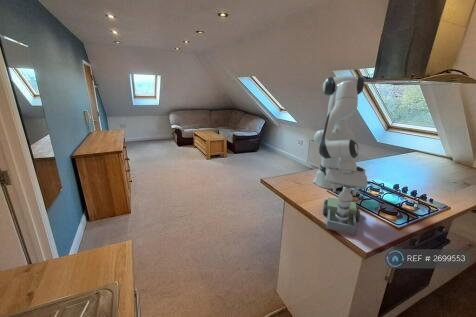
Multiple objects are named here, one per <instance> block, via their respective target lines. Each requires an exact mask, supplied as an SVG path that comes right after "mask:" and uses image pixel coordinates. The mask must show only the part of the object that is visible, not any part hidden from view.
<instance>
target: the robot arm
mask: <svg viewBox="0 0 476 317" xmlns="http://www.w3.org/2000/svg"><path fill="white" fill-rule="evenodd" d="M364 88H365V80H364V78H363V76H358V75H357V76H354V75H352V76H351V75H343V76H342V75H341V76H330V77H326V78H325V80H324V82H323V84H322V91H323V94H324V95H325V96H329V99H328V100H329V101H328V105H327V106H328V107H327V115H326V120H325V124H324V128H323V129H320V130H317V131H316V132H315V133H314V135H313V142H314V143H315V145H316V146H317V147H318V153H319V154H320V156H321V163H320V165H319V170H317V171H316V176H315V178H314V179H313V180H312V183H313V184H315V185H317V186H318V187H319V188H323V189H329V190H331V189H332V193H336V191H337V189H338V188H342V187H343V186H345V185H347V186H350V187H351V188H353V189H355V191H352V193H351V194H352V196H355V197H357V196H356V195H357V192H358V191H359V190H360V189H361V190H365V189H367V187H368V176H367V175H366V169H365V168H363V167H361V166H358V165H357V162H356V161H357V160H358V155H359V145H358V143H357V142H356V141H355V140H356V137H355V136H356V135H355V133H354V132H353V131H352V130H351V129H350V128H349V126H348V124H347V122H348V121H347V119H348V118H350V117H351V116H353V115H354V114H355V113H356V111H357V109H358V103H359V101H358V100H359V95H360V94H361V93H362V92H363V90H364Z"/></svg>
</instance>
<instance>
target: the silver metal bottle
mask: <svg viewBox="0 0 476 317" xmlns="http://www.w3.org/2000/svg"><path fill="white" fill-rule="evenodd" d="M351 192H352V187H350V186H347V185H345V186H342V191H340V192H339V194H338V196H337V199H338V208H337V211H336V214H335V216H334V220H335V222H339V223H343V224H347V223H348V219H349V217H348V214H349V208H350V205H351V202H353V198H354V197H353V195H352V193H351Z"/></svg>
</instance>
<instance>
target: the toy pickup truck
mask: <svg viewBox="0 0 476 317" xmlns="http://www.w3.org/2000/svg"><path fill="white" fill-rule="evenodd" d="M337 208H338V198H335V197H327V199H324V202H323V210H322V214H323V215H327V216H326V219H327V220H326V229H327V230H330V231H335V232H338V233H343V234H348V235H352V236H356V235H357V234H356V232H357V229H358V226H357V221H358V222H359V220H360V216H361V212H360V210H359V209H360V207H359V205H357V203H356V202H355V201H352V202H351V205H350V208H349V214H348V217H349V219H348V223H347V224H343V223H339V222H335V220H334V216H335V214H336V211H337Z"/></svg>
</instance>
